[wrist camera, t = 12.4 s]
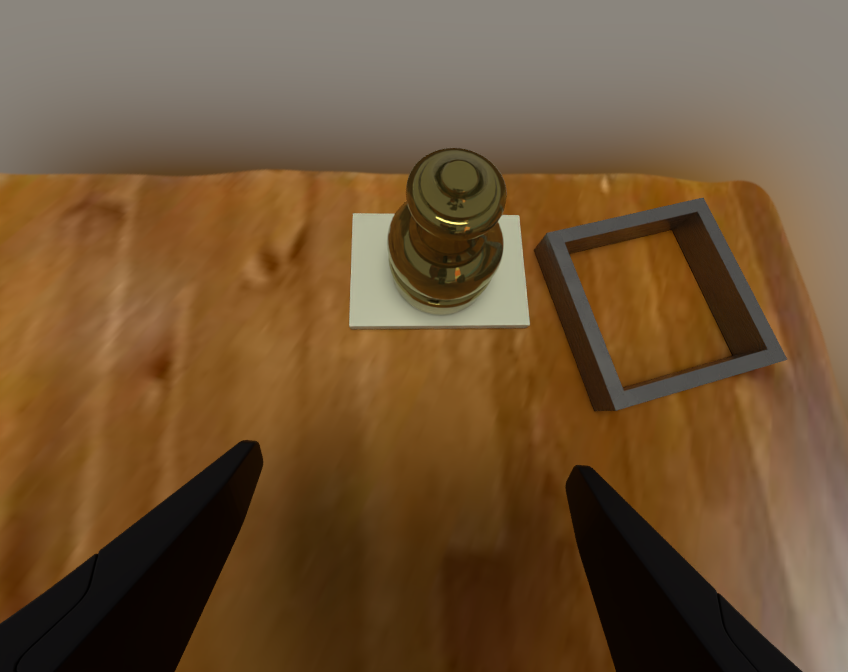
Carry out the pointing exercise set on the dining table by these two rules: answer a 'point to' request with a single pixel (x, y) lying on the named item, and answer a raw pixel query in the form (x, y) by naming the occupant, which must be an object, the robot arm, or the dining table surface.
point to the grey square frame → (712, 273)
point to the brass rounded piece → (447, 231)
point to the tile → (387, 309)
